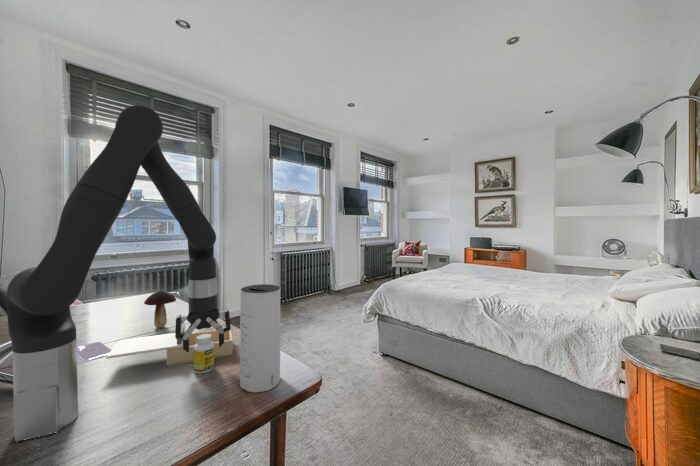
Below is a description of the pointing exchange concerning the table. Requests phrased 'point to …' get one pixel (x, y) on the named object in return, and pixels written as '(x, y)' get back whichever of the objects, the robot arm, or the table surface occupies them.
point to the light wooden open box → (183, 357)
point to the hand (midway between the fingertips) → (204, 348)
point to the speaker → (259, 337)
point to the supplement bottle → (203, 354)
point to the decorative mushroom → (160, 306)
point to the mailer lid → (146, 344)
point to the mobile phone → (92, 351)
